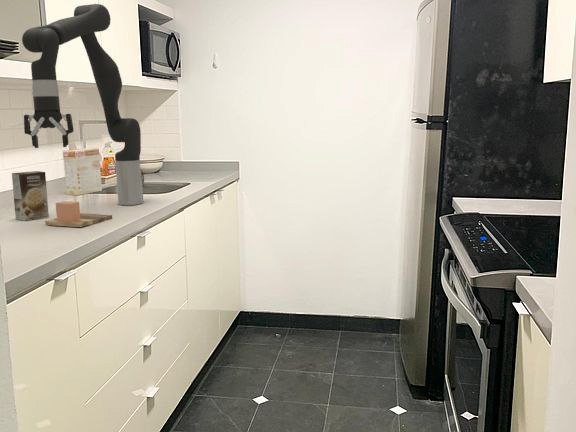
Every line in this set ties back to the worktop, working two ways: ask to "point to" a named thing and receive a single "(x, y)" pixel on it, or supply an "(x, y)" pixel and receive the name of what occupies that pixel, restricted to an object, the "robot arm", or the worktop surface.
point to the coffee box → (30, 195)
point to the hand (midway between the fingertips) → (50, 147)
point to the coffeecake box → (82, 171)
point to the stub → (68, 215)
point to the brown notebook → (95, 217)
